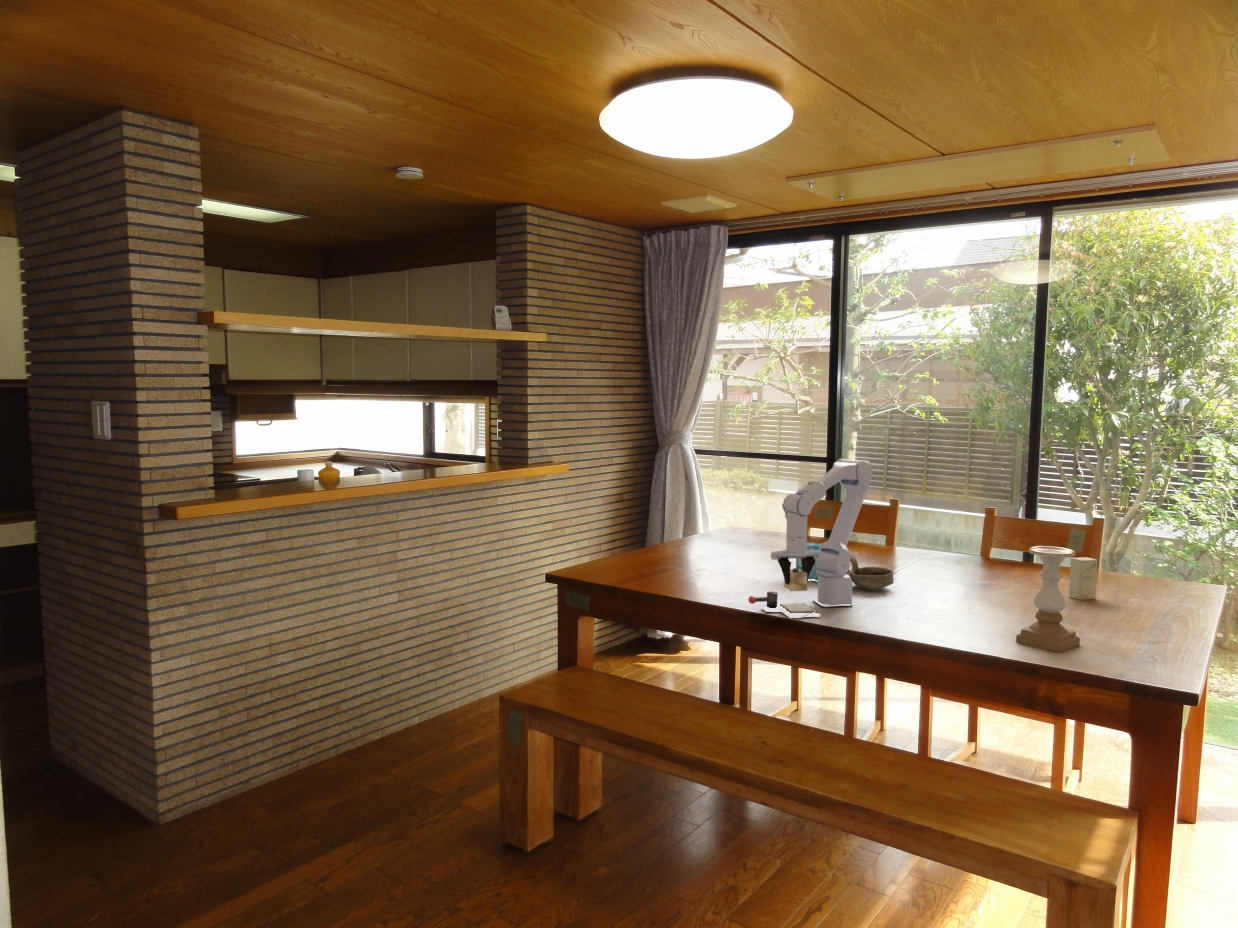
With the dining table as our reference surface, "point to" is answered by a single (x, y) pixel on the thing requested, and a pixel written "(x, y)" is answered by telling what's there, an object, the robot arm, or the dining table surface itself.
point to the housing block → (797, 580)
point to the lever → (766, 599)
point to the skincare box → (1083, 578)
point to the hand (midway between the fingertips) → (795, 583)
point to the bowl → (870, 576)
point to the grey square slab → (798, 608)
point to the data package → (813, 572)
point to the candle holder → (1049, 605)
